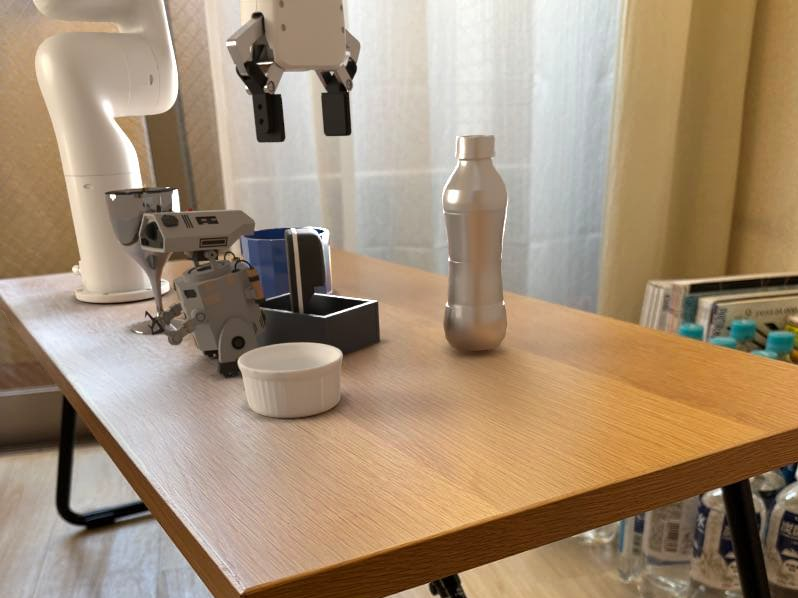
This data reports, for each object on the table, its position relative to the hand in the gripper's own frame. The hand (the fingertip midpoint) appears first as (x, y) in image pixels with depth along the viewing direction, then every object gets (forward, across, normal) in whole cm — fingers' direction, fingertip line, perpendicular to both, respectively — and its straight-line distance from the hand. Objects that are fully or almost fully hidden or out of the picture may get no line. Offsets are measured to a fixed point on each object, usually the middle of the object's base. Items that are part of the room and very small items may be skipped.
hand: (305, 138), depth 87 cm
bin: (+20, +1, -1) cm, 20 cm away
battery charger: (+20, +1, -1) cm, 20 cm away
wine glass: (+20, +3, -22) cm, 30 cm away
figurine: (+20, +13, -4) cm, 24 cm away
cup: (+20, -17, -20) cm, 33 cm away
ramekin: (+20, +17, +12) cm, 29 cm away
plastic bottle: (+20, -6, +16) cm, 26 cm away
